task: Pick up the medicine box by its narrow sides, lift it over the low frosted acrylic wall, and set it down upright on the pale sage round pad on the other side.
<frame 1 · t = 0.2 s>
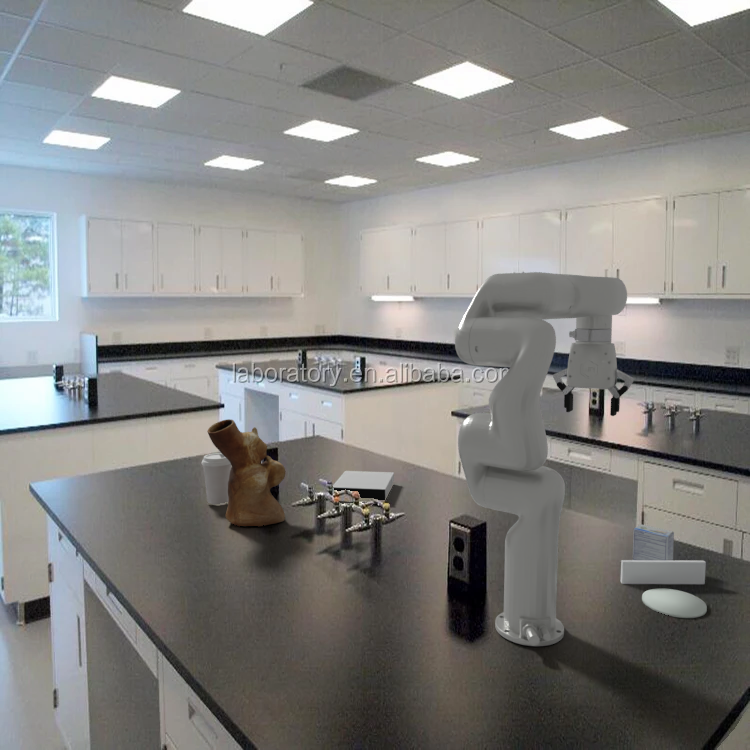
hand: (591, 413, 143), 37 cm above the countertop, tool pointing down, fingers open, 9 cm apart
acrylic wall: (662, 583, 140), on the countertop
coffee cup: (218, 503, 199), on the countertop
disc drive: (363, 494, 210), on the countertop
medicine box: (652, 566, 150), on the countertop
ceramic vessel: (247, 523, 180), on the countertop
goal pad: (673, 603, 130), on the countertop
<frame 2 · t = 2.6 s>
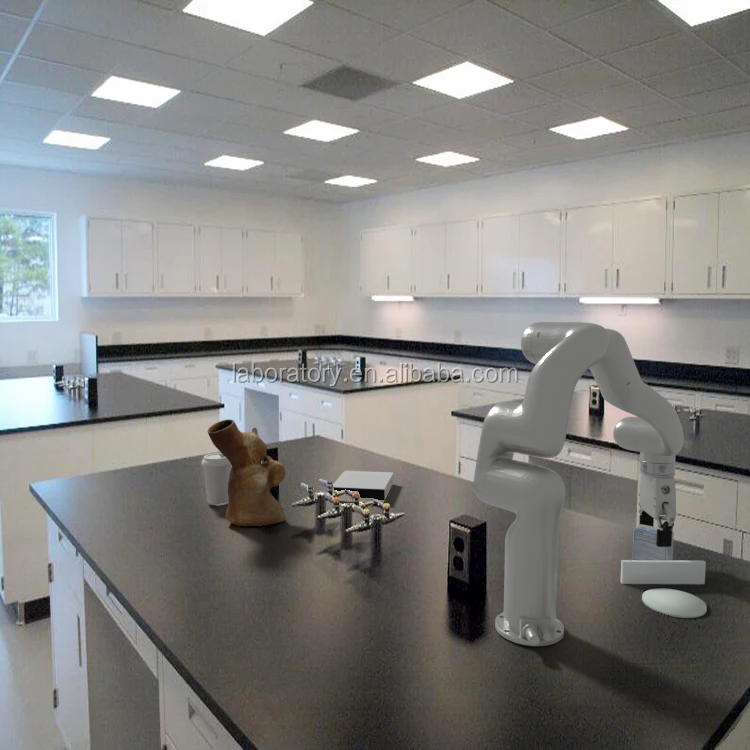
hand: (654, 538, 150), 6 cm above the countertop, tool pointing down, fingers open, 9 cm apart
nothing on the countertop moved.
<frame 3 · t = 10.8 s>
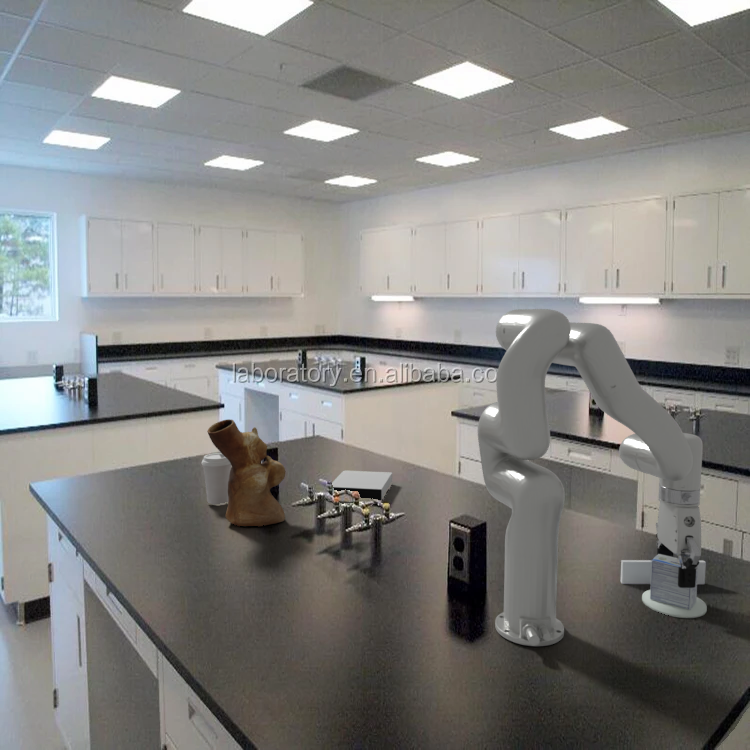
hand: (675, 576, 130), 6 cm above the countertop, tool pointing down, fingers open, 9 cm apart
medicine box: (672, 602, 130), resting on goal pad
everything else where it was.
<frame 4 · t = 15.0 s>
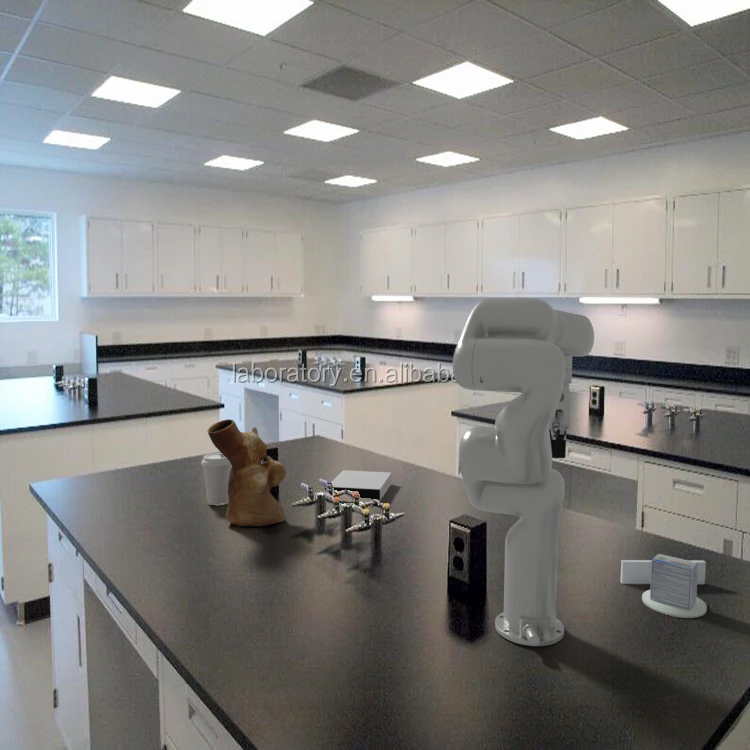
hand: (551, 452, 142), 28 cm above the countertop, tool pointing down, fingers open, 9 cm apart
at the end: medicine box 0.4 cm off-centre on the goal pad, point 0.4 cm above the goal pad's base; medicine box tilted 0°; the gripper is holding nothing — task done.
